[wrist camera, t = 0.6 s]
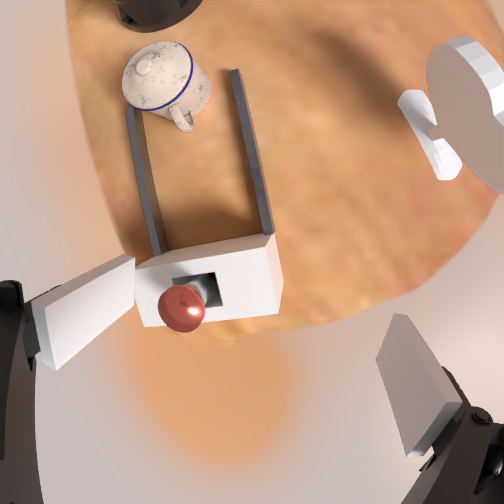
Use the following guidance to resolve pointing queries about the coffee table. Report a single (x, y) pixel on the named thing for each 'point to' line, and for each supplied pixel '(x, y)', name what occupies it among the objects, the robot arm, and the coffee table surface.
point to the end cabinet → (227, 273)
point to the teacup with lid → (167, 83)
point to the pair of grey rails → (146, 176)
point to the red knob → (186, 303)
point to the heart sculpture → (460, 112)
